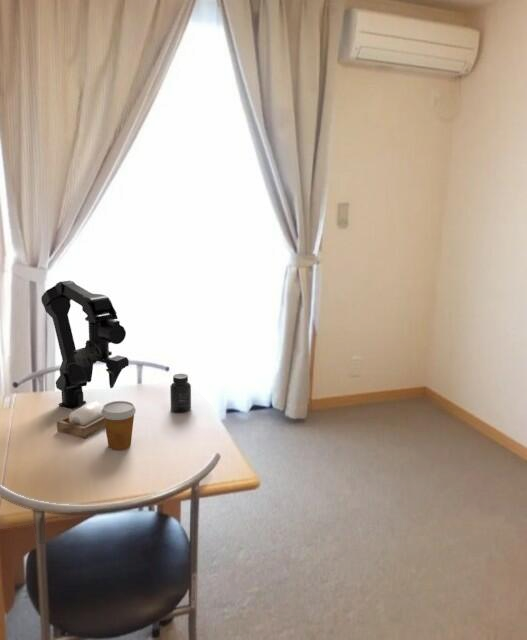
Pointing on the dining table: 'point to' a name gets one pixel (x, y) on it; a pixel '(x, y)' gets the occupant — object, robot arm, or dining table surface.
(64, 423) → the walnut cradle
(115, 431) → the disposable coffee cup
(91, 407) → the paper roll
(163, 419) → the dining table surface
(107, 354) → the robot arm
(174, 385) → the supplement bottle
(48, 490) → the dining table surface
